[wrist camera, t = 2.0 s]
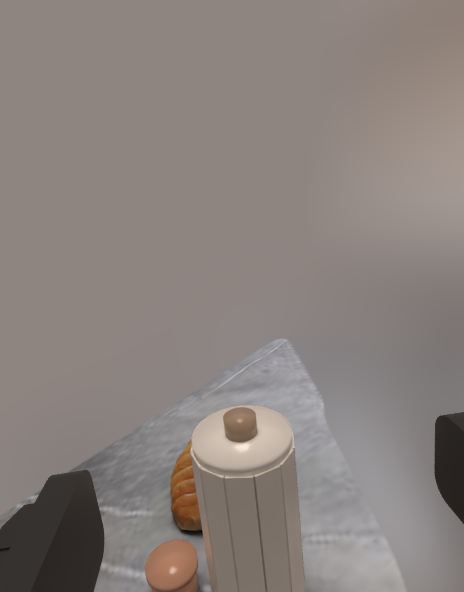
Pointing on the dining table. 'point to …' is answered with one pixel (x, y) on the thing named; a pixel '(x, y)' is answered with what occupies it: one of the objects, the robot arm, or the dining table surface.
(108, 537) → the dining table surface
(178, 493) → the pastry
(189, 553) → the salmon brown knob
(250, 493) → the ribbed lidded canister
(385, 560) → the dining table surface
